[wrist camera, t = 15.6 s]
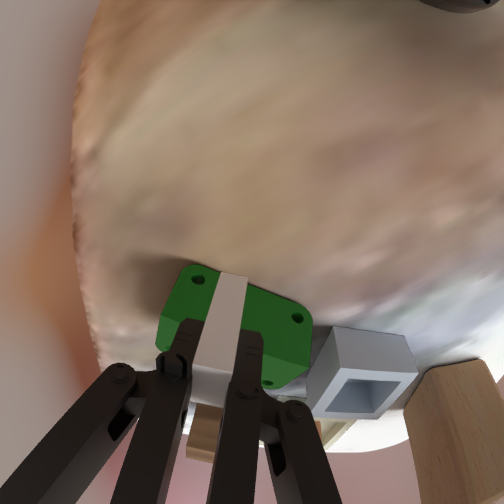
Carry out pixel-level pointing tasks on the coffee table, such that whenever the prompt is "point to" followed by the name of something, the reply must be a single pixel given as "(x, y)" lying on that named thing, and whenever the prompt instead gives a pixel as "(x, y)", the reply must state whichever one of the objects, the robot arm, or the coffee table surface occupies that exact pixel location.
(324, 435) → the tray
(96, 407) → the robot arm
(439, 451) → the wooden block
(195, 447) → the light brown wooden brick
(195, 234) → the coffee table surface
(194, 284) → the clamp
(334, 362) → the socket
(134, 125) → the coffee table surface
